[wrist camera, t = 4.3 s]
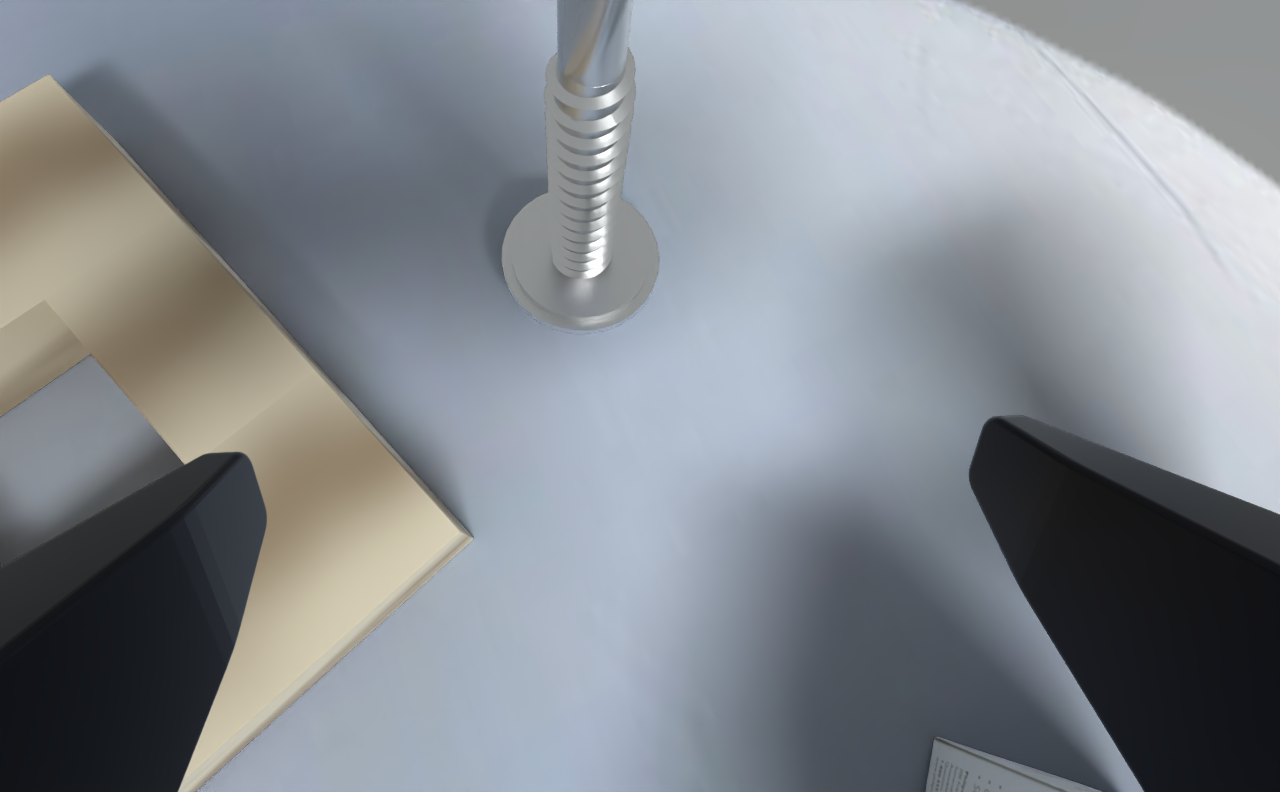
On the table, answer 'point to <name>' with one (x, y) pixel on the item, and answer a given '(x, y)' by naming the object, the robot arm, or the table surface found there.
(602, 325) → the screw
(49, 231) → the holder board
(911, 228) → the table surface
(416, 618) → the table surface
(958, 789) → the light bulb box
